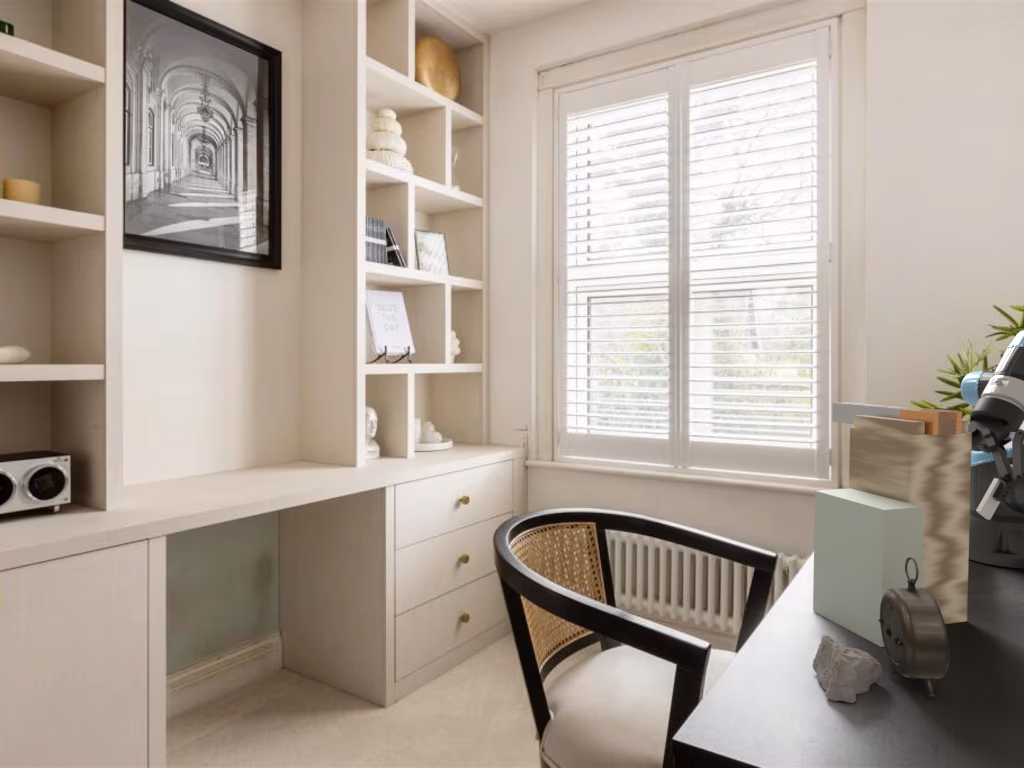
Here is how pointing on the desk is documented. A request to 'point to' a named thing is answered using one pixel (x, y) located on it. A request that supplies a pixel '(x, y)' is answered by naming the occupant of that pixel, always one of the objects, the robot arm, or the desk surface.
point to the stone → (844, 670)
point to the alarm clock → (914, 632)
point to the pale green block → (862, 556)
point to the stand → (922, 495)
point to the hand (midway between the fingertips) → (945, 506)
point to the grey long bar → (902, 416)
